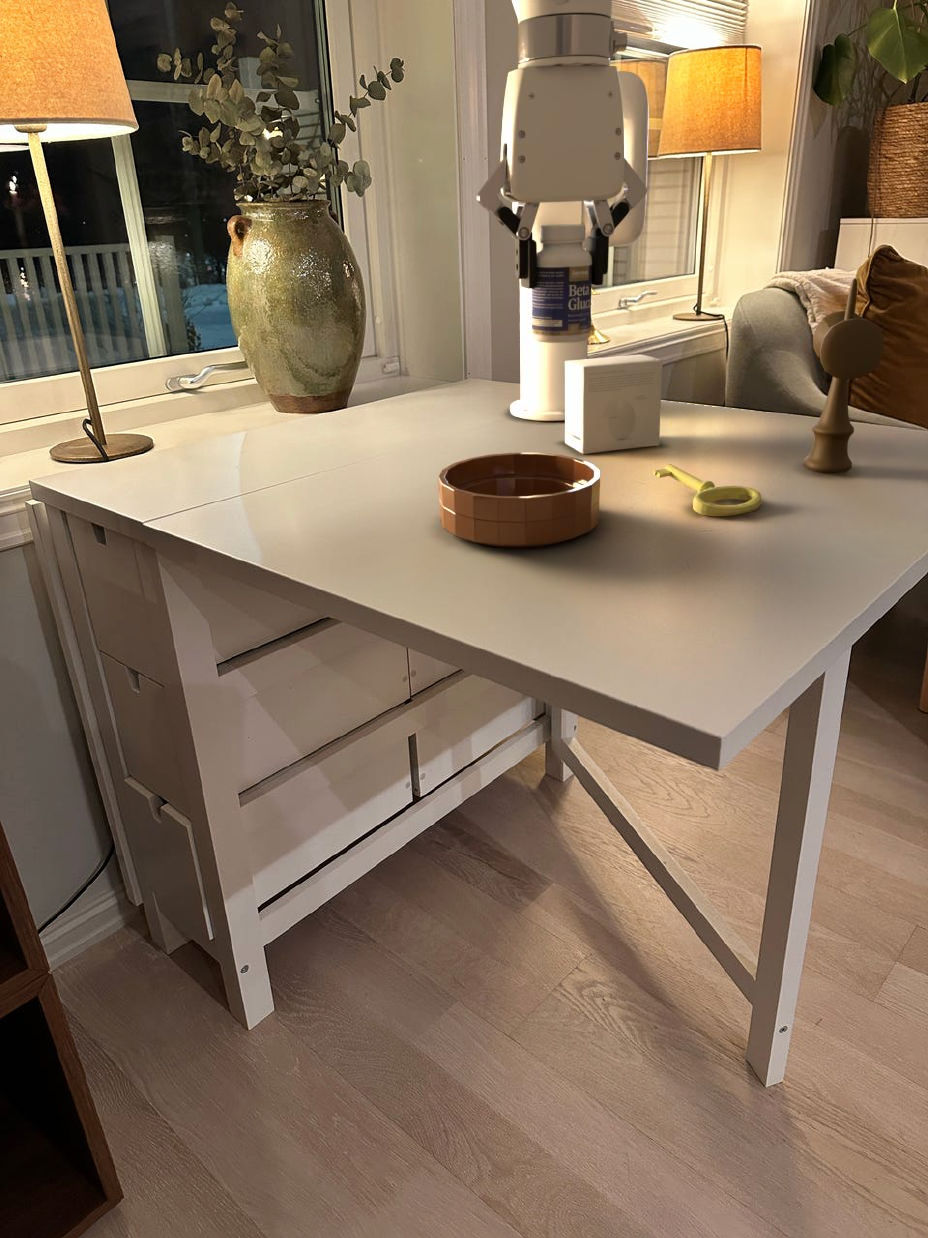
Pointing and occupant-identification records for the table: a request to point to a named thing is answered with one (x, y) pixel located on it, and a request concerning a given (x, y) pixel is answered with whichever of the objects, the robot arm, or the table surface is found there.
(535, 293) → the pill bottle
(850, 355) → the kendama
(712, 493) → the key
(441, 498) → the bowl
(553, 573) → the table surface
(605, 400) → the cosmetics box
